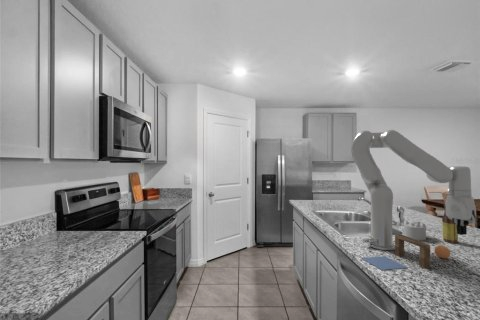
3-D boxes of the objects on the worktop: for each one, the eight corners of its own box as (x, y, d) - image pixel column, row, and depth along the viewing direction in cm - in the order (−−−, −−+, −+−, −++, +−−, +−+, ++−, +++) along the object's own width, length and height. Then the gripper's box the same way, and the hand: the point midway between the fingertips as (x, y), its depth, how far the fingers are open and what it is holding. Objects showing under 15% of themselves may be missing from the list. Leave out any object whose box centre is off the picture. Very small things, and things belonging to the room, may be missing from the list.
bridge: (424, 268, 98) (424, 245, 98) (395, 254, 112) (395, 234, 112) (430, 267, 98) (430, 244, 98) (400, 254, 112) (400, 234, 113)
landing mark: (381, 270, 96) (381, 269, 96) (361, 258, 107) (361, 257, 107) (407, 268, 98) (407, 267, 98) (384, 256, 110) (384, 256, 110)
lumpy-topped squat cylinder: (425, 236, 140) (425, 221, 140) (426, 242, 130) (426, 226, 130) (404, 233, 146) (404, 218, 146) (402, 238, 136) (402, 223, 136)
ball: (443, 261, 105) (443, 248, 105) (431, 256, 110) (431, 244, 110) (453, 260, 106) (453, 247, 106) (441, 255, 111) (441, 243, 111)
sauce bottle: (452, 239, 133) (451, 203, 133) (461, 243, 127) (461, 205, 127) (439, 239, 134) (439, 203, 134) (447, 243, 127) (447, 205, 128)
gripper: (437, 192, 116) (438, 230, 116) (471, 196, 102) (473, 239, 101) (449, 191, 118) (451, 229, 117) (486, 195, 103) (488, 238, 103)
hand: (461, 234), depth 109 cm, fingers closed
